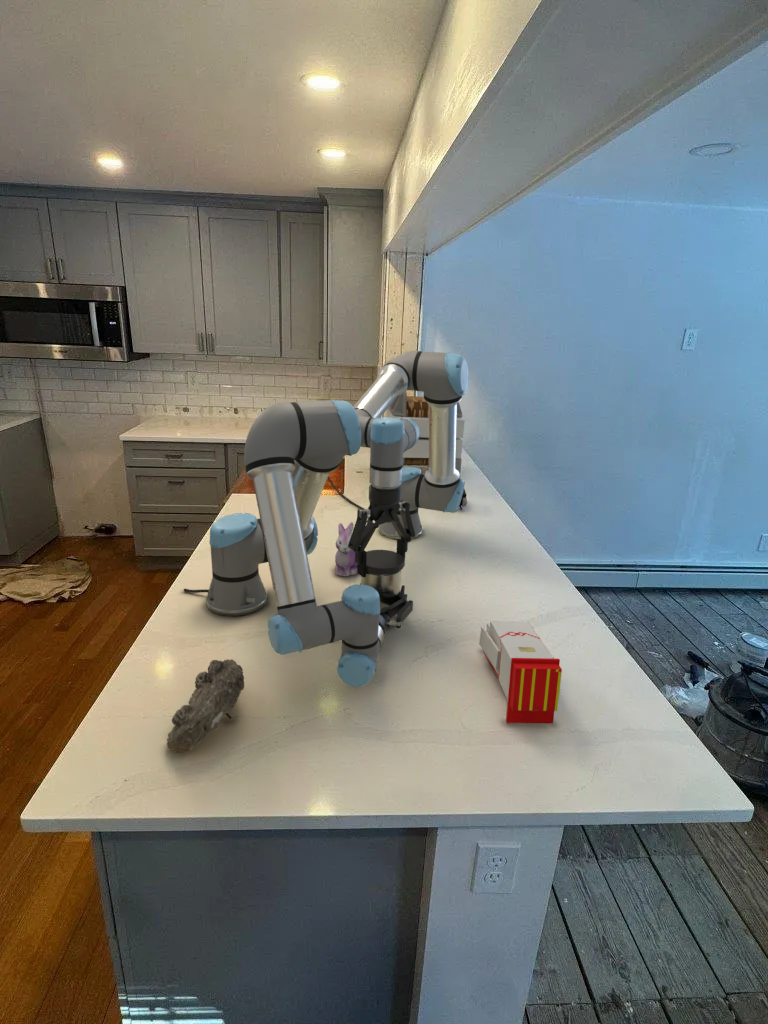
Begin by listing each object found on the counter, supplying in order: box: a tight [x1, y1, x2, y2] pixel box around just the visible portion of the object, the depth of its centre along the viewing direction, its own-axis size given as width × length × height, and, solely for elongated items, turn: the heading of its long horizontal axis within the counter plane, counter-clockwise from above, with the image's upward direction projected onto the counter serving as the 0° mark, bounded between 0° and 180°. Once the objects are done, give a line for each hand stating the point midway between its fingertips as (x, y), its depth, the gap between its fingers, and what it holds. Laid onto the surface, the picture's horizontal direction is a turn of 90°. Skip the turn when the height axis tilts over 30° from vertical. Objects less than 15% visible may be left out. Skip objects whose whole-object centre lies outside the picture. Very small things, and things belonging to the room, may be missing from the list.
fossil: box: [166, 658, 245, 754], centre depth 106 cm, size 22×10×15 cm
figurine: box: [334, 521, 358, 577], centre depth 168 cm, size 9×10×15 cm
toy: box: [478, 620, 563, 725], centre depth 121 cm, size 12×13×30 cm
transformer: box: [385, 390, 465, 476], centre depth 268 cm, size 34×33×41 cm
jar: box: [360, 570, 402, 629], centre depth 142 cm, size 10×10×16 cm
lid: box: [366, 549, 405, 574], centre depth 140 cm, size 11×11×2 cm
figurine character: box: [458, 488, 468, 511], centre depth 230 cm, size 7×8×15 cm
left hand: (382, 587), depth 147 cm, fingers closed on jar, 10 cm apart
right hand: (381, 569), depth 140 cm, fingers closed on lid, 11 cm apart
